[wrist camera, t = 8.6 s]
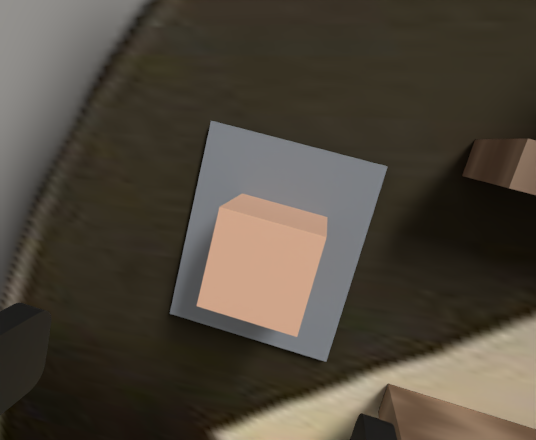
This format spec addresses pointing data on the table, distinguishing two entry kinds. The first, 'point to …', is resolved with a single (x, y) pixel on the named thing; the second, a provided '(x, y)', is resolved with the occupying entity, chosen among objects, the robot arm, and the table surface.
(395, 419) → the u-shaped frame
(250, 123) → the table surface
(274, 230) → the block
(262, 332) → the mat
